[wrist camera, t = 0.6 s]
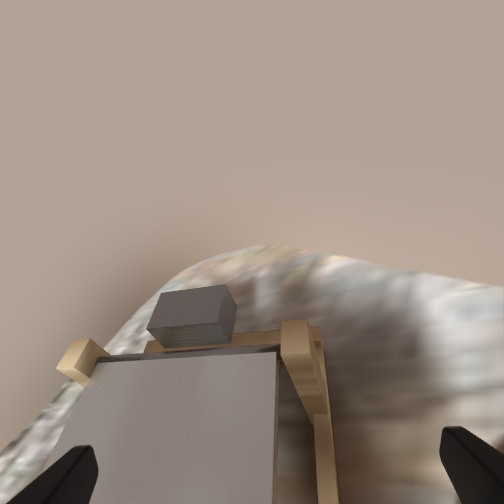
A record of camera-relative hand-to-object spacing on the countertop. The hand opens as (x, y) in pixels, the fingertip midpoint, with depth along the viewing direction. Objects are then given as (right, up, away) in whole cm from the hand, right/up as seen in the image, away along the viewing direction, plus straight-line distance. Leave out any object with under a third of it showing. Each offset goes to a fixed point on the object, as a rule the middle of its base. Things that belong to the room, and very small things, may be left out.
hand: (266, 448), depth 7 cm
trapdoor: (-5, -4, +9) cm, 11 cm away
